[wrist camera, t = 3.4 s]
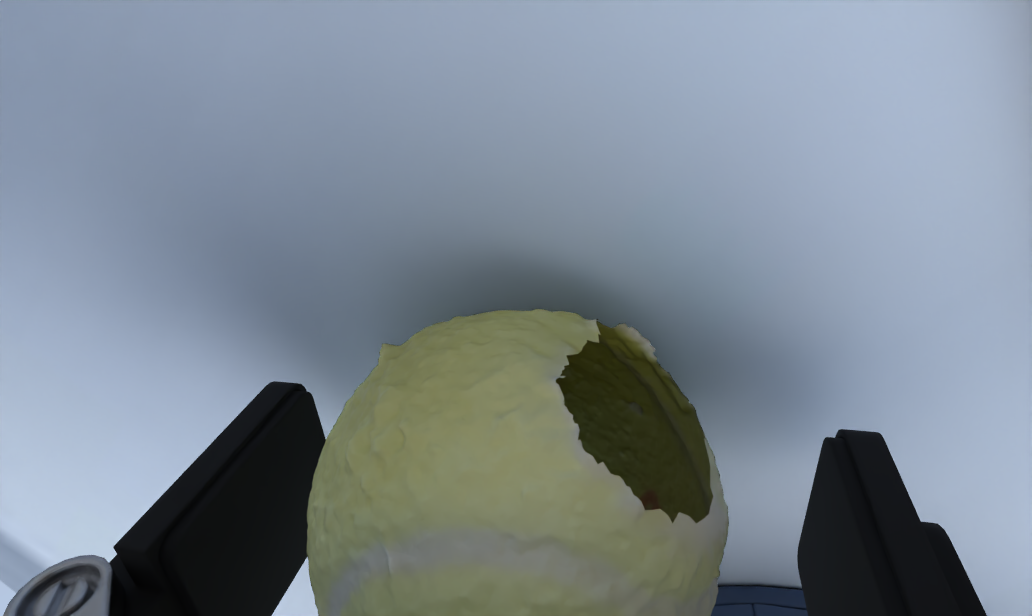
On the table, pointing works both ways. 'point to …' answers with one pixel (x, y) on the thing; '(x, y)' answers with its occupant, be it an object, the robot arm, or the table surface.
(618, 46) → the table surface
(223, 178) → the table surface
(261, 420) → the robot arm
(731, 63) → the table surface
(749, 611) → the tin
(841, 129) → the table surface
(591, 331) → the tennis ball
